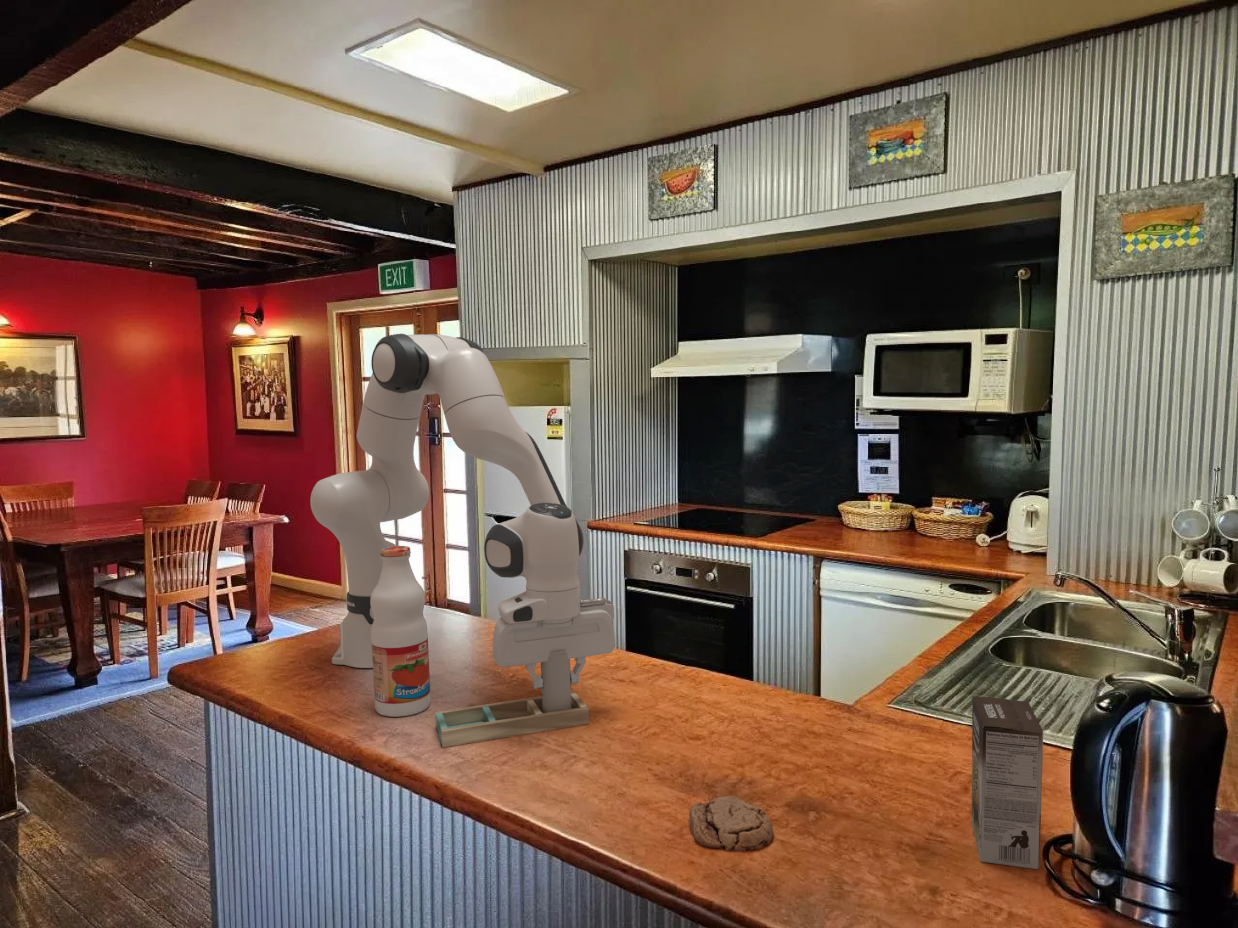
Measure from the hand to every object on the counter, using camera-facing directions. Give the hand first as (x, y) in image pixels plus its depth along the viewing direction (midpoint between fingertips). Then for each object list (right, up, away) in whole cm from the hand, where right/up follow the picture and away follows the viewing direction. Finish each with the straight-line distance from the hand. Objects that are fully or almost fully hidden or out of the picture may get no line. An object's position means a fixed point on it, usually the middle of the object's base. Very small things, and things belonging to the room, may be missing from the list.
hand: (556, 685), depth 137 cm
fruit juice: (-27, -6, +7) cm, 28 cm away
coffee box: (+55, -8, -40) cm, 69 cm away
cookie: (+24, -9, -35) cm, 44 cm away
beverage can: (0, -6, +1) cm, 6 cm away
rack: (-7, -6, -2) cm, 9 cm away
